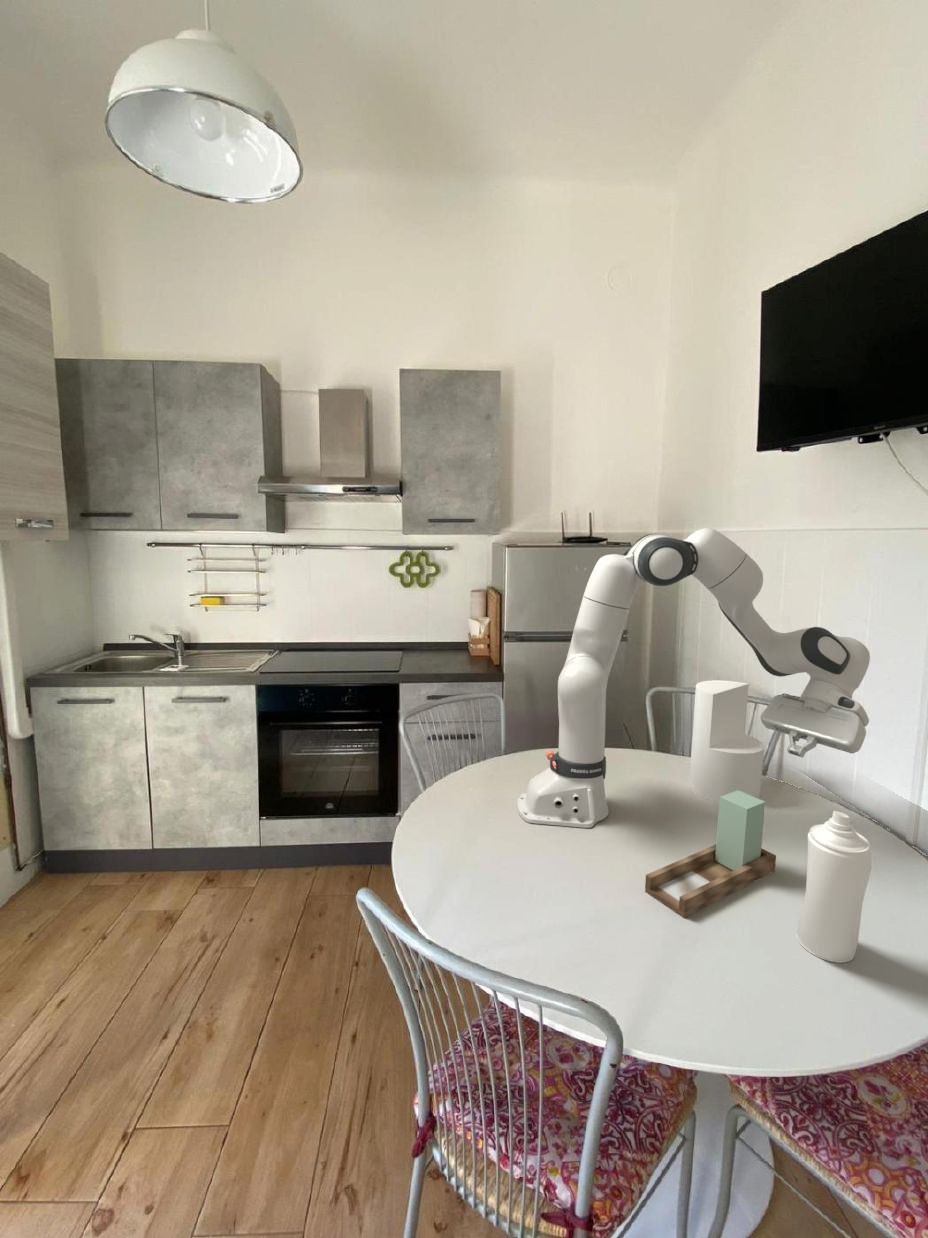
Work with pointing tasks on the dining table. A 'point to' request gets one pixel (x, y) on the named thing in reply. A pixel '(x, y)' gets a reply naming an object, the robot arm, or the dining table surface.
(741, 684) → the cylinder
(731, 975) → the dining table surface
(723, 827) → the block
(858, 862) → the spray can
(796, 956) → the dining table surface
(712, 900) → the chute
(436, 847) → the dining table surface
